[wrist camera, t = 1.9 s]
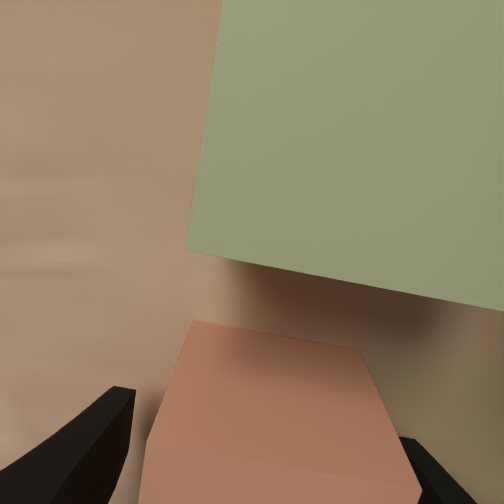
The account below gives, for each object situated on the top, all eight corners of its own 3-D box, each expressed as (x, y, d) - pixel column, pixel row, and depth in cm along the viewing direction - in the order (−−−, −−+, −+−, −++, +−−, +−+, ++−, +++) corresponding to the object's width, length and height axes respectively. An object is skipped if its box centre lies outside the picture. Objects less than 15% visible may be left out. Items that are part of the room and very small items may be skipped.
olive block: (459, 37, 10) (653, -64, 5) (400, 235, 11) (505, 311, 6) (255, -6, 10) (246, -154, 5) (220, 200, 11) (185, 250, 6)
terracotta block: (358, 348, 12) (422, 490, 7) (319, 480, 13) (351, 673, 9) (193, 318, 12) (146, 441, 7) (171, 454, 13) (119, 635, 8)
